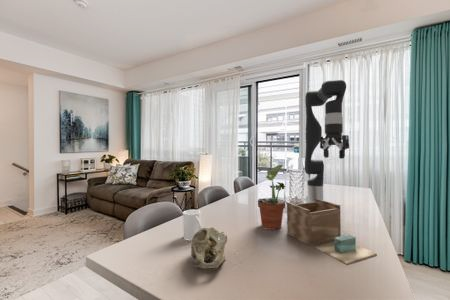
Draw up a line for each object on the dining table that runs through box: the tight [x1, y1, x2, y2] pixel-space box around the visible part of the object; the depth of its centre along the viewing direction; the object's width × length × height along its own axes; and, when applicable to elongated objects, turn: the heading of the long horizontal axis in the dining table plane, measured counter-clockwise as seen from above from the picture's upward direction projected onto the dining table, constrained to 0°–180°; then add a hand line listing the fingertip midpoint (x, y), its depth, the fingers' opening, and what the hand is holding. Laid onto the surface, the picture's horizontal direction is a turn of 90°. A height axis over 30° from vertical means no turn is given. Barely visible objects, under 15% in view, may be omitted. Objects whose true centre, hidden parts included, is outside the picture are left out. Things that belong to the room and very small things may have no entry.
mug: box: [182, 209, 202, 240], centre depth 102 cm, size 12×8×12 cm
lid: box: [315, 234, 378, 265], centre depth 87 cm, size 14×16×6 cm
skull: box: [190, 226, 228, 269], centre depth 81 cm, size 11×20×15 cm
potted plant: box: [257, 164, 286, 231], centre depth 116 cm, size 16×15×35 cm
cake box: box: [286, 199, 342, 246], centre depth 103 cm, size 14×19×15 cm
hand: (333, 158), depth 103 cm, fingers open, 8 cm apart
